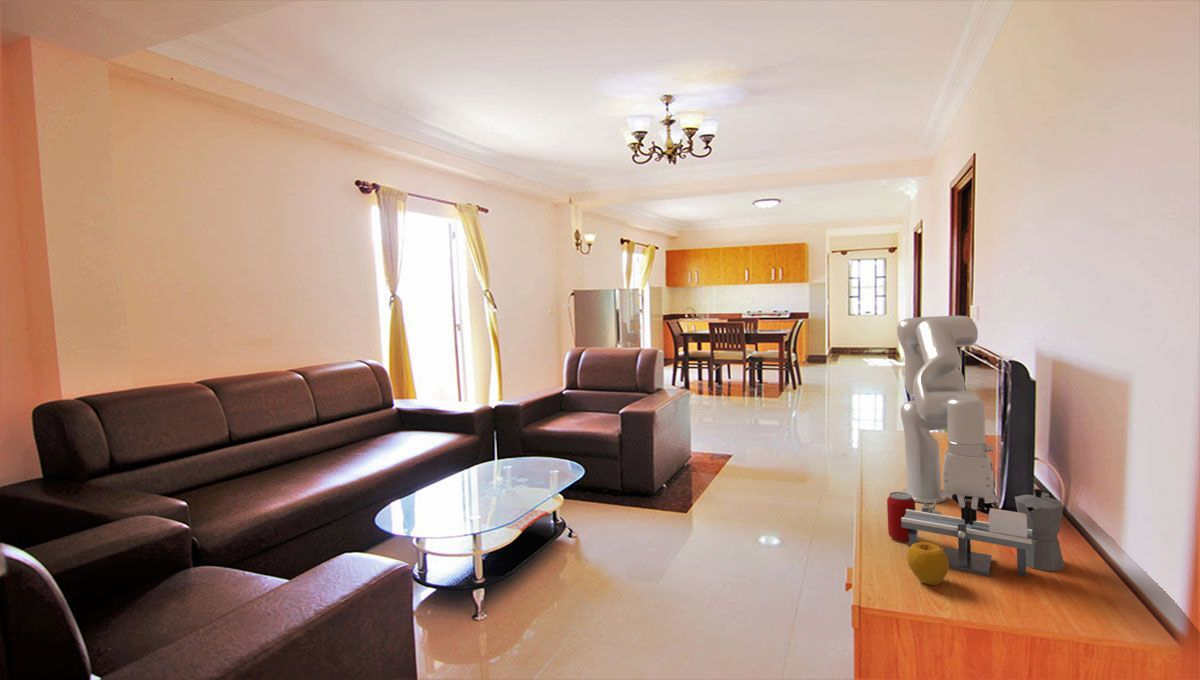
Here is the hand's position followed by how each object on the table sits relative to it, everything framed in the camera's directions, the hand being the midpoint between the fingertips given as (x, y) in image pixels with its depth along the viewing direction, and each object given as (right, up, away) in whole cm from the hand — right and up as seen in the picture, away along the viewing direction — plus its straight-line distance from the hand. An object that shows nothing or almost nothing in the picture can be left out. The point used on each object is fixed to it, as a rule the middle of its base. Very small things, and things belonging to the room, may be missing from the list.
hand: (969, 522), depth 132 cm
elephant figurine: (+7, -9, +24) cm, 26 cm away
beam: (-1, -3, +1) cm, 3 cm away
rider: (+6, -1, -5) cm, 8 cm away
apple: (-14, -12, -6) cm, 19 cm away
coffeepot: (+17, -9, 0) cm, 20 cm away
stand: (0, -10, +1) cm, 10 cm away
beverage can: (-7, -10, +17) cm, 21 cm away
